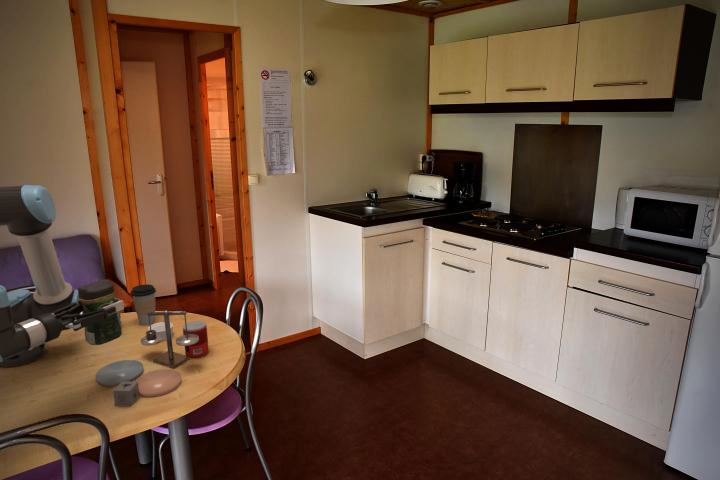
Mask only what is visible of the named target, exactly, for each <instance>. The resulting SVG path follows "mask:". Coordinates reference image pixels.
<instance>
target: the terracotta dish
mask: <svg viewBox="0 0 720 480" xmlns="http://www.w3.org/2000/svg"><path fill="white" fill-rule="evenodd" d="M134 382H138V385H139V393H140V398H157V397H162V396H165V395H168V394H170V393H172V392H174V391H176V390H177V389H178V388H179V387H180V386H181V384H182V375H181V373H180V372H179V371H177V370H175V369H172V368H169V369H168V368H164V369H163V368H162V369H157V370H152V371H148V372H146V373H143V374H142V375H141V376H140V377H139V378H137V379H136V380H134Z"/></svg>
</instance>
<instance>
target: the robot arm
mask: <svg viewBox="0 0 720 480" xmlns="http://www.w3.org/2000/svg"><path fill="white" fill-rule="evenodd" d="M56 218H57V210H56V205H55V201H54V198H53V196H52V195H51V193H50V191H49V190H48V189H47V188H46V187H44V186H42V185H30V184H24V185H9V186H0V227H2V226H6V227H7V230H8V232H9V234H10V235H12V236H15V237H17V240H18V242H19V245H20V249H21V251H22V254H23V257H24V259H25V262H26V265H27V268H28V270H29V274H30V276H31V280H32V282H33V285H34V287H35V291H34V292H33V294H32V293H31V290H28V289H18V290H12V291H8V292H7V288H6V287H5V286H3V285H1V284H0V367H3V368H12V367H19V366H23V365H27V364H29V363H32V362H33V363H34V361H37V360H39V359H41V358H42V357H43V356H44V355H46V354H47V351H48V350H47V346H46V343H49V342H52V341H54V340H56V339H58V338H59V337H60V336H61V333H62V332H63V331H68V330H70V329H72V330H73V332H77V331H79V330H82V329H85V327H87V326H90V325H93V324H96V323H99V322H102V321H105V320H108V315H110V314H113V313H115V312H118V311H120V312H121V311H123V310H124V309H125V304H124V300H122V299H121V300H120V301H118V302H116V303H113V304H111V305H108V306H105V307H103V308H102V309H101V310H97V311H92V312H88V313H84V311H83V306H82V304H81V302H80V301H79V298H78V289H73V286H72V285H71V284H70V283H69V282H67V281H66V280H65V277H64V275H63V271H62V268H61V264H60V261H59V258H58V255H57V251H56V248H55V246H54V242H53V239H52V236H51V235H52V234H51V233H50V228H52V226H53V222H55V220H56Z"/></svg>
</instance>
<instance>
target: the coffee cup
mask: <svg viewBox="0 0 720 480" xmlns="http://www.w3.org/2000/svg"><path fill="white" fill-rule="evenodd" d="M156 292H157V289H156V287H154V285H153V284H139V285H136V286H133V287H132V288H131V291H130V296H132V301H133V305H134V309H135V313H136V315H137V320H138V323H139V325H140V326H149V317H148V315H147V313H148V312H156ZM155 321H156V316H150V323H151V325H153V324H155Z"/></svg>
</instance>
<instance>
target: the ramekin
mask: <svg viewBox="0 0 720 480" xmlns="http://www.w3.org/2000/svg"><path fill="white" fill-rule="evenodd" d="M173 327H174V325H173V323H172V322H170V328H171V337H173V334H174V333H173V332H174V330H173ZM149 330H150V326H149V325H148V327H147V331H149ZM151 330H155V331H156V334H159V335H162V336H163V341H162V342H164V341H167V338H166V330H165V321H161V322H156V323H152V324H151Z"/></svg>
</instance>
